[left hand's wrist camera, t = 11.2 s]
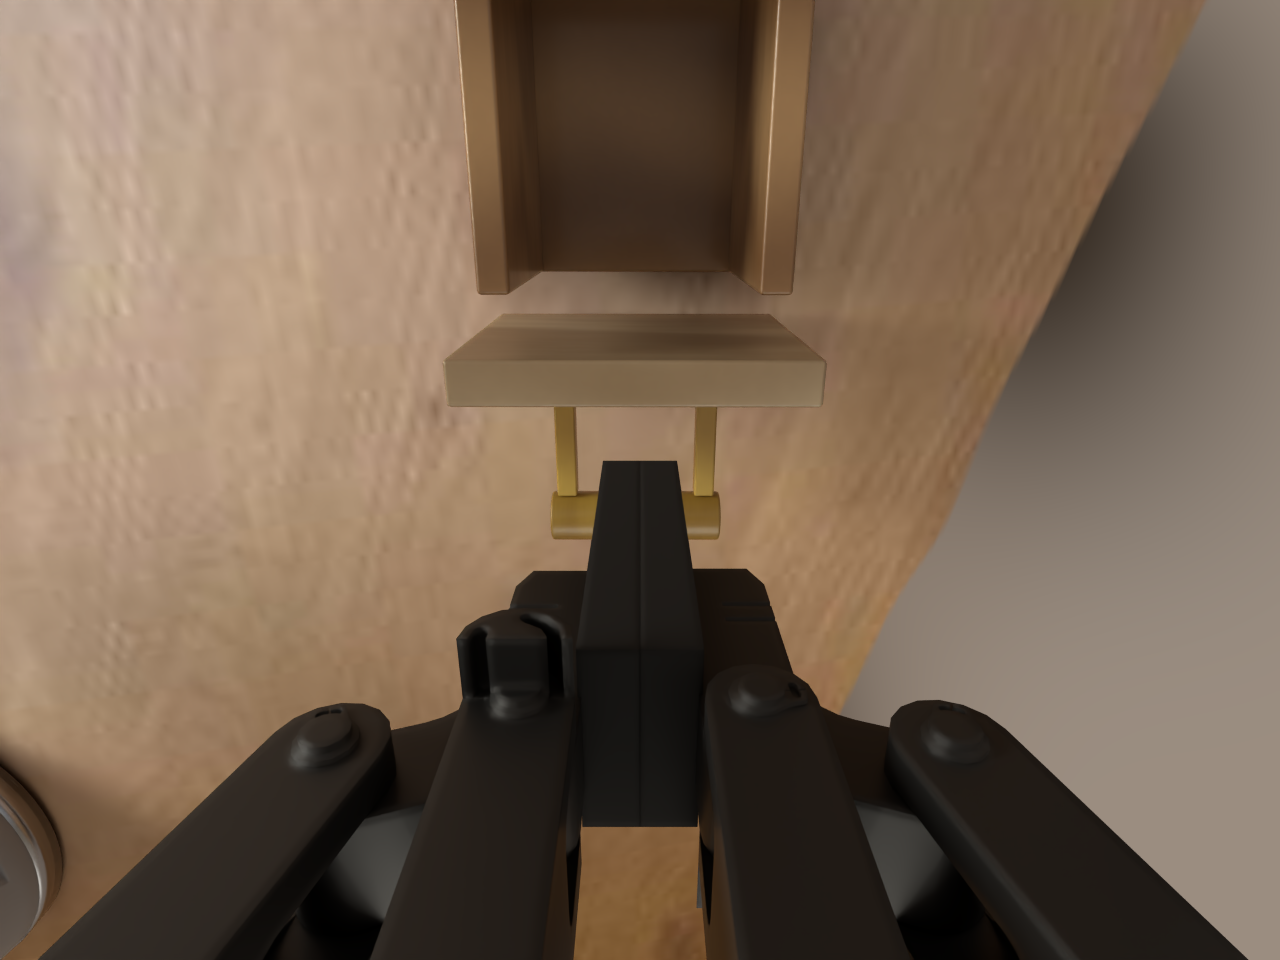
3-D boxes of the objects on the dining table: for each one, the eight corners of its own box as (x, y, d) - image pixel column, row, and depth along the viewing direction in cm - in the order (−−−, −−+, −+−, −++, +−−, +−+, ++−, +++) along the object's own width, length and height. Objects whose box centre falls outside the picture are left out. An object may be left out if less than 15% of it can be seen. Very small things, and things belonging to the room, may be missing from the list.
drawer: (759, 483, 27) (805, 589, 20) (512, 483, 27) (464, 589, 20) (808, -237, 19) (913, -515, 12) (463, -238, 19) (353, -516, 12)
